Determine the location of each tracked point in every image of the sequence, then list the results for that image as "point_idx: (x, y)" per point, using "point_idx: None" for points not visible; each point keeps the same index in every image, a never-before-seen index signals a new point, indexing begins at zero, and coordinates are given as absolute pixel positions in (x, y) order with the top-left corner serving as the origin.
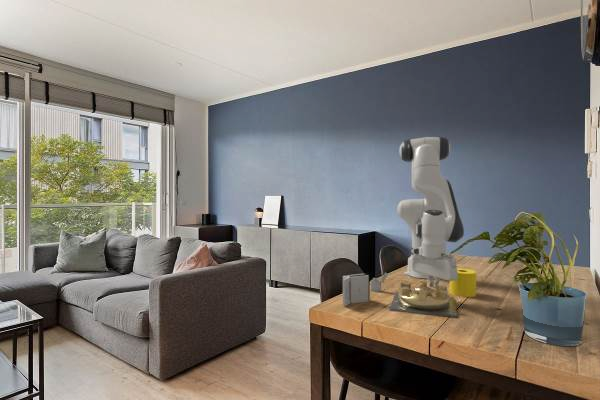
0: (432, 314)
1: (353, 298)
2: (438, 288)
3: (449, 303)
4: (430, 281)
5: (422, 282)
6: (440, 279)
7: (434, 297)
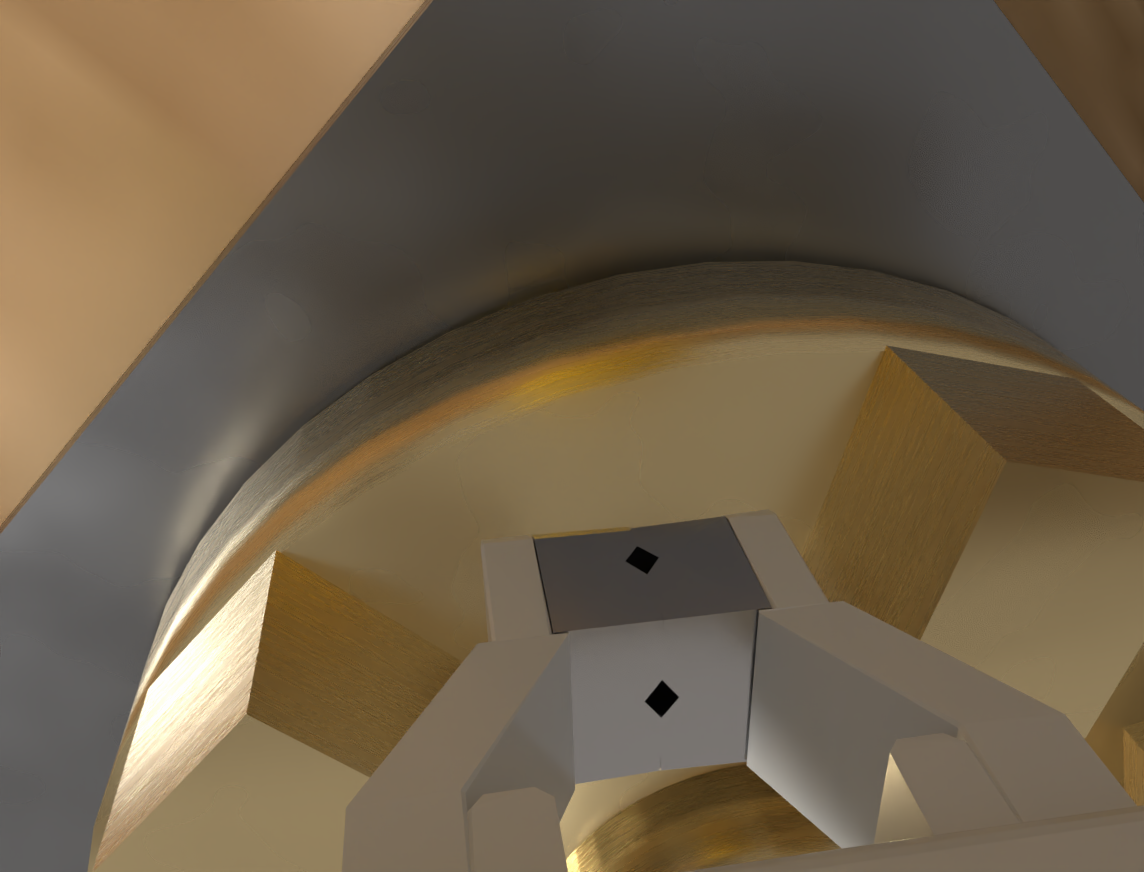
0: None
1: None
2: None
3: (1052, 313)
4: (561, 803)
5: None
6: (1069, 738)
7: None
